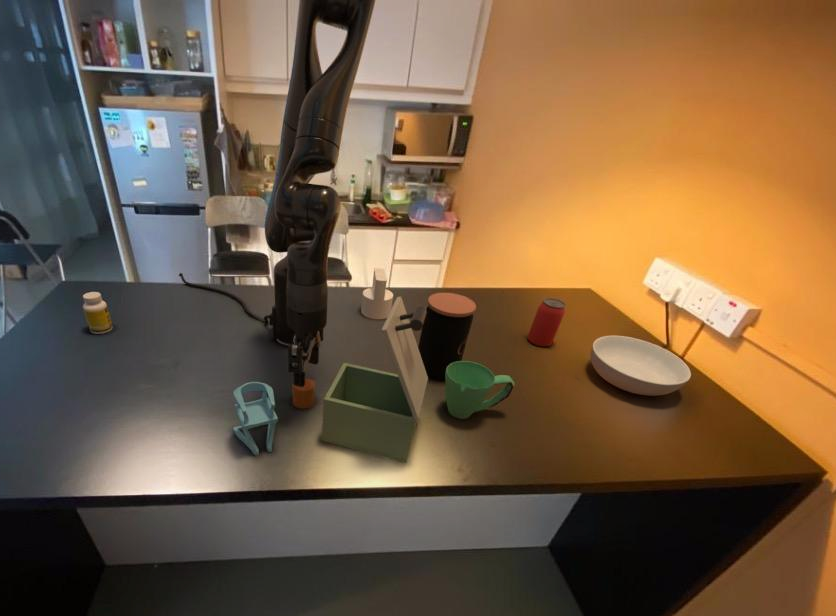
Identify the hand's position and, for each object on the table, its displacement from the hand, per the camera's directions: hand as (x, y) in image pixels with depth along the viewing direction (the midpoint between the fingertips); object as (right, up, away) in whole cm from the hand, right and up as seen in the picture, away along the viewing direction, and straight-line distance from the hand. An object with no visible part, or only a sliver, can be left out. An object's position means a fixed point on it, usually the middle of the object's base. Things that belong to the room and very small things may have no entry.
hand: (306, 373), depth 87 cm
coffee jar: (+31, +2, +18) cm, 36 cm away
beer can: (+63, +10, +32) cm, 71 cm away
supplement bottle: (-56, +12, +24) cm, 62 cm away
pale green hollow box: (+13, -11, -2) cm, 17 cm away
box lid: (+18, +3, -13) cm, 23 cm away
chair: (-9, -13, -5) cm, 17 cm away
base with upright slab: (+18, +19, +41) cm, 49 cm away
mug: (+35, -8, +5) cm, 37 cm away
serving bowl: (+79, -1, +18) cm, 81 cm away
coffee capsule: (-1, -6, +5) cm, 8 cm away
